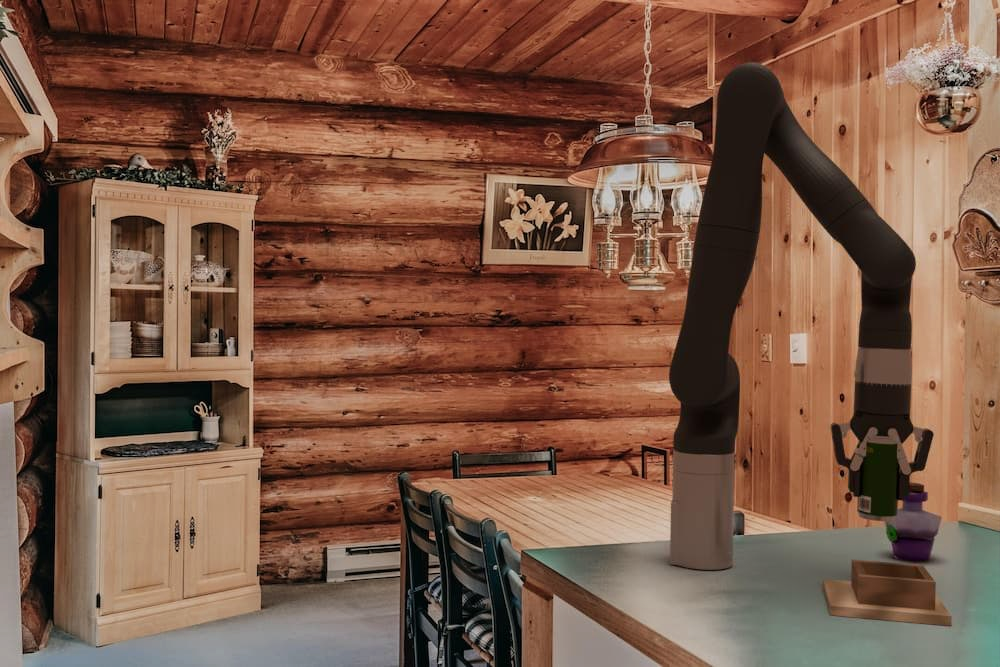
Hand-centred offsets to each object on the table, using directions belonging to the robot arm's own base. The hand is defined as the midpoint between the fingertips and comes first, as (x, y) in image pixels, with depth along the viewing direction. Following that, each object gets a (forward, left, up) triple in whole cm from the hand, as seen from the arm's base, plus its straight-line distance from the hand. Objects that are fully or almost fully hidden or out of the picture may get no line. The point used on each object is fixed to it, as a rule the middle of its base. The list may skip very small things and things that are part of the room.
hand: (878, 497), depth 133 cm
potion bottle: (+7, +17, -12) cm, 22 cm away
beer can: (0, 0, -3) cm, 3 cm away
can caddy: (0, -12, -12) cm, 17 cm away
